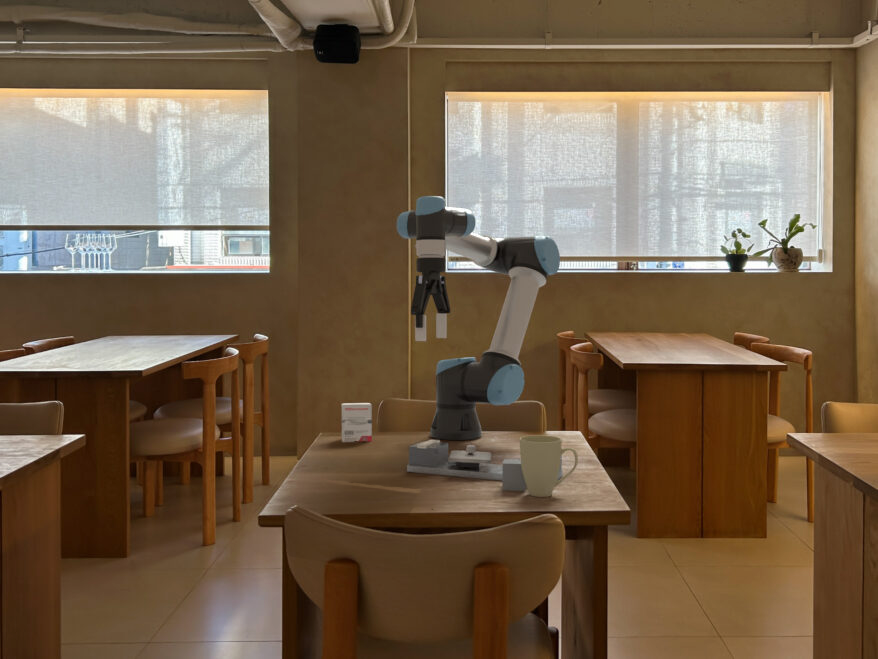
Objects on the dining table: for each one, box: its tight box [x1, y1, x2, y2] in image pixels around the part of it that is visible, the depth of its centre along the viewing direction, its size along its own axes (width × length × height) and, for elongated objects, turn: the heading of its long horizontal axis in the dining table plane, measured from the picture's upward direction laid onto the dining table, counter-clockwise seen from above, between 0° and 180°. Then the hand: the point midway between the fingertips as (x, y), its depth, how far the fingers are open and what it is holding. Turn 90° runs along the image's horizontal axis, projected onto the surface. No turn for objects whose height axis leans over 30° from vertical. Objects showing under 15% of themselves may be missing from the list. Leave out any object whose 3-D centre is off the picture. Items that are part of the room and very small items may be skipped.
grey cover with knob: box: [448, 444, 492, 468], centre depth 202 cm, size 10×10×5 cm
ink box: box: [341, 402, 373, 443], centre depth 243 cm, size 8×5×12 cm, turn 99°
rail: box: [406, 439, 564, 481], centre depth 202 cm, size 10×36×7 cm, turn 66°
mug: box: [519, 434, 579, 498], centre depth 181 cm, size 11×10×12 cm
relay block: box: [501, 458, 527, 492], centre depth 187 cm, size 5×5×6 cm
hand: (431, 339), depth 218 cm, fingers open, 13 cm apart
